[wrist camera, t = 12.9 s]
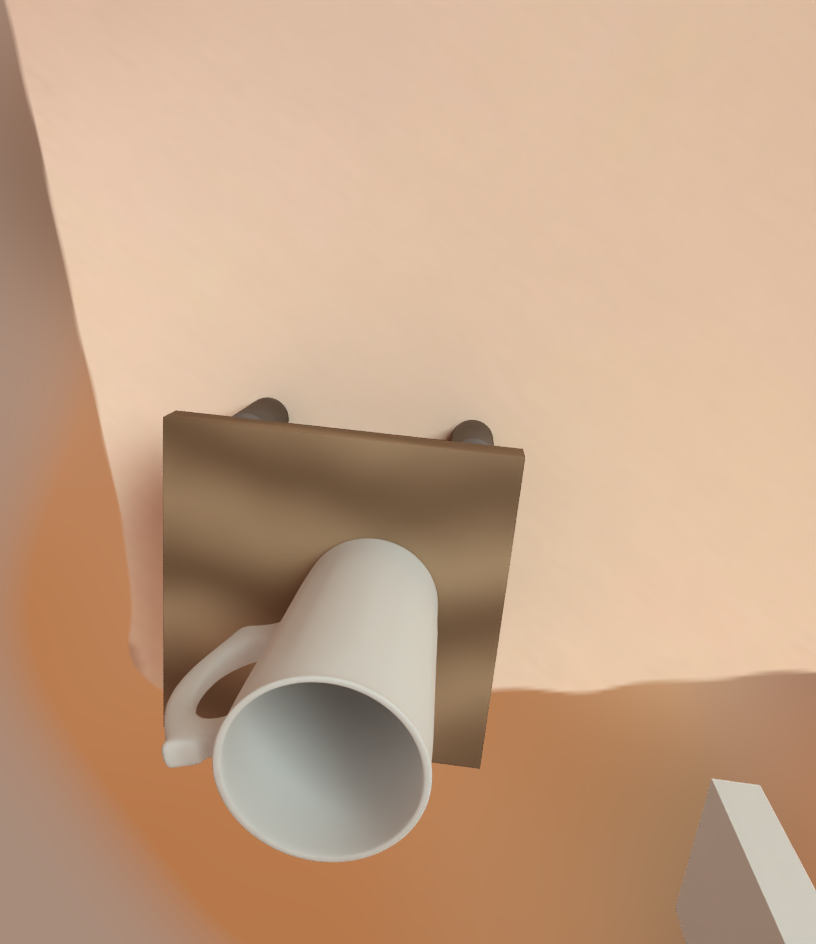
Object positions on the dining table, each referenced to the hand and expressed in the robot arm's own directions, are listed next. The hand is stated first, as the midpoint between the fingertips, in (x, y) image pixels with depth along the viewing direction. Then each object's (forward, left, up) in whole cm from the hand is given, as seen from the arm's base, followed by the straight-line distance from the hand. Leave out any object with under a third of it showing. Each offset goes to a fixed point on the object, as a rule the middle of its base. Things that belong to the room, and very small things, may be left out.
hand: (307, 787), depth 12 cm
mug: (+7, -3, -21) cm, 22 cm away
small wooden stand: (+7, -3, -31) cm, 32 cm away
